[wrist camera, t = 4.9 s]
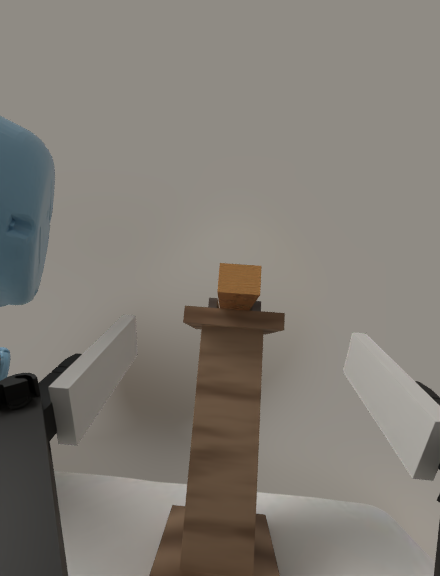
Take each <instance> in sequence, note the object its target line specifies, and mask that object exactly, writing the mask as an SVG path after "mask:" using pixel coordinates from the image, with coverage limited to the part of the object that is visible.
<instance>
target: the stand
mask: <svg viewBox="0 0 440 576" xmlns="http://www.w3.org/2000/svg"><path fill="white" fill-rule="evenodd" d="M284 316H285V315H284V313H275V312H261V302H260V301H255V303H254V304H253V306H252V307H251V308H250V310H249V311H248V310H235V309H221V308H219V305H218V299H217V298H209V306H208V307H195V306H185V311H184V320H183V322H184V323H185V324H188V325H189V326H191V327H193V328H195V329H202V332H201V343H200V354H199V364H198V375H197V386H196V396H195V407H194V419H193V430H192V440H191V451H190V462H189V473H188V483H187V494H186V505H185V506H176V505H172V508H171V511H170V514H169V517H168V520H167V524H166V527H165V530H164V533H163V536H162V539H161V542H160V545H159V548H158V551H157V554H156V557H155V560H154V563H153V566H152V569H151V573H150V576H280V575H279V571H278V566H277V562H276V558H275V554H274V549H273V545H272V541H271V537H270V532H269V528H268V524H267V520H266V515H263V514H256V497H257V472H258V449H259V425H260V399H261V376H262V375H261V374H262V351H263V334H270V333H274V332H278V331H282V330H284Z"/></svg>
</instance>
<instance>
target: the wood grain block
mask: <svg viewBox="0 0 440 576" xmlns="http://www.w3.org/2000/svg"><path fill="white" fill-rule="evenodd" d="M260 285H261V266H254V265H239V264H225V263H220V269H219V281H218V298H219V305H220V308H221V309H235V310H248V311H249V310H250V308H251V307H252V306H253V304H254V303H255V301H256V300H257V298H258V297H259V296H260Z"/></svg>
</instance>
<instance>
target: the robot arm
mask: <svg viewBox="0 0 440 576" xmlns="http://www.w3.org/2000/svg"><path fill="white" fill-rule="evenodd" d="M54 171H55V170H54V163H53V159H52V156H51V155H50V153H49V150H48V149H47V148H46V147H45V145H44V143H43V142H42V141H41V140H40V139H39V138H38V137H37V136H36V135H34V134H33V133H32V132H30V131H29V130H27V129H25V128H23V127H21V126H19V125H17V124H15V123H13V122H11V121H9V120H7V119H5V118H4V117H2V116H0V307H2V306H6V305H23V304H26V303H28V302H30V301H31V300H32V299H33V298H34V296H35V295H36V293H37V291H38V288H39V285H40V281H41V276H42V273H43V268H44V262H45V257H46V252H47V246H48V239H49V230H50V220H51V216H52V209H53V197H54V183H55V181H54V180H55V172H54ZM137 355H138V354H137V333H136V316H134V315H123V316H121V317H120V318H119V319H118V320H117V321H116V322H115V323H114V324H113V325H112V326H111V327H110V328H109V329H108V330H107V331H106V332H105V333H104V334H103V335H102V336H101V337H100V338H99V339H98V340H97V341H95V343H93V344H92V345H91V346H90V347H89V348H88V349H87V350H86V351H85V352H84V353H83V354H74V355H72V356H70V357H68V358H67V359H65V360H64V361H63V362H62V363H61V364H59V366H58V367H56V368H55V369H54V370H53V371H52V373H49V374H48V375H47V376H46V377H45V378H44V379H43V380H42V381H41V382H39V383H38V380H37V377H36V376H35V375H34V374H31V373H21V374H15V375H12V376H9V377H7V375H8V370H9V366H10V351H9V350H8V349H7V348H4V347H0V576H68V572H67V565H66V557H65V550H64V543H63V535H62V528H61V521H60V513H59V506H58V499H57V491H56V484H55V477H54V469H53V462H52V455H51V448H50V442H49V441H50V440H51V439H52V438H53V436H54V435H55V434H56V433H57V438H58V443H59V444H65V445H75V446H77V445H78V444H79V442H80V440H81V439H82V438H83V436H84V434H85V433H86V431H87V430H88V428H89V427H90V425H91V424H92V422H93V421H94V419H95V418H96V416H97V415H98V413H99V412H100V410H101V409H102V407H103V406H104V404H105V403H106V401H107V400H108V398H109V397H110V395H111V394H112V392H113V391H114V389H115V388H116V386H117V385H118V383H119V382H120V380H121V379H122V377H123V376H124V374H125V373H126V371H127V370H128V368H129V367H130V365H131V364H132V362H133V361H134V359H135V358H136V356H137ZM343 372H344V374H345V376H346V377H347V379H348V380H349V382H350V383H351V385H352V386H353V388H354V389H355V391H356V392H357V394H358V395H359V397H360V399H361V400H362V402H363V403H364V405H365V406H366V408H367V409H368V411H369V412H370V414H371V415H372V417H373V418H374V420H375V422H376V423H377V425H378V426H379V428H380V429H381V431H382V432H383V434H384V435H385V437H386V439H387V440H388V442H389V443H390V445H391V446H392V448H393V449H394V451H395V452H396V454H397V455H398V457H399V458H400V460H401V462H402V463H403V465H404V466H405V468H406V469H407V471H408V472H409V474H410V475H411V477H412V478H413V479H422V480H431V481H433V480H434V478H435V475H436V473H437V471H438V469H439V470H440V398H439V396H438V395H437V394H435V393H434V392H433V391H432V390H431V389H430V388H428V387H427V386H425V385H423V384H422V383H420V382H417V381H414V380H413V379H412V378H411V377H410V376H409V375H407V373H406V372H405V371H404V370H403V369H402V368H401V367H399V366H398V365H397V364H396V363H395V362H394V361H393V360H392V359H391V358H390V357H389V356H388V355H387V354H386V353H385V352H384V351H383V350H382V349H381V348H380V347H379V346H378V345H377V344H376V343H375V342H374V341H373V340H372V339H371V338H370V337H369V336H368V335H367V334H365V333H354V332H353V333H352V336H351V341H350V345H349V349H348V353H347V358H346V362H345V365H344V370H343ZM437 501H438V502H440V495H439V496H438V499H437ZM434 576H440V523H439V532H438V542H437V552H436V561H435V571H434Z"/></svg>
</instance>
